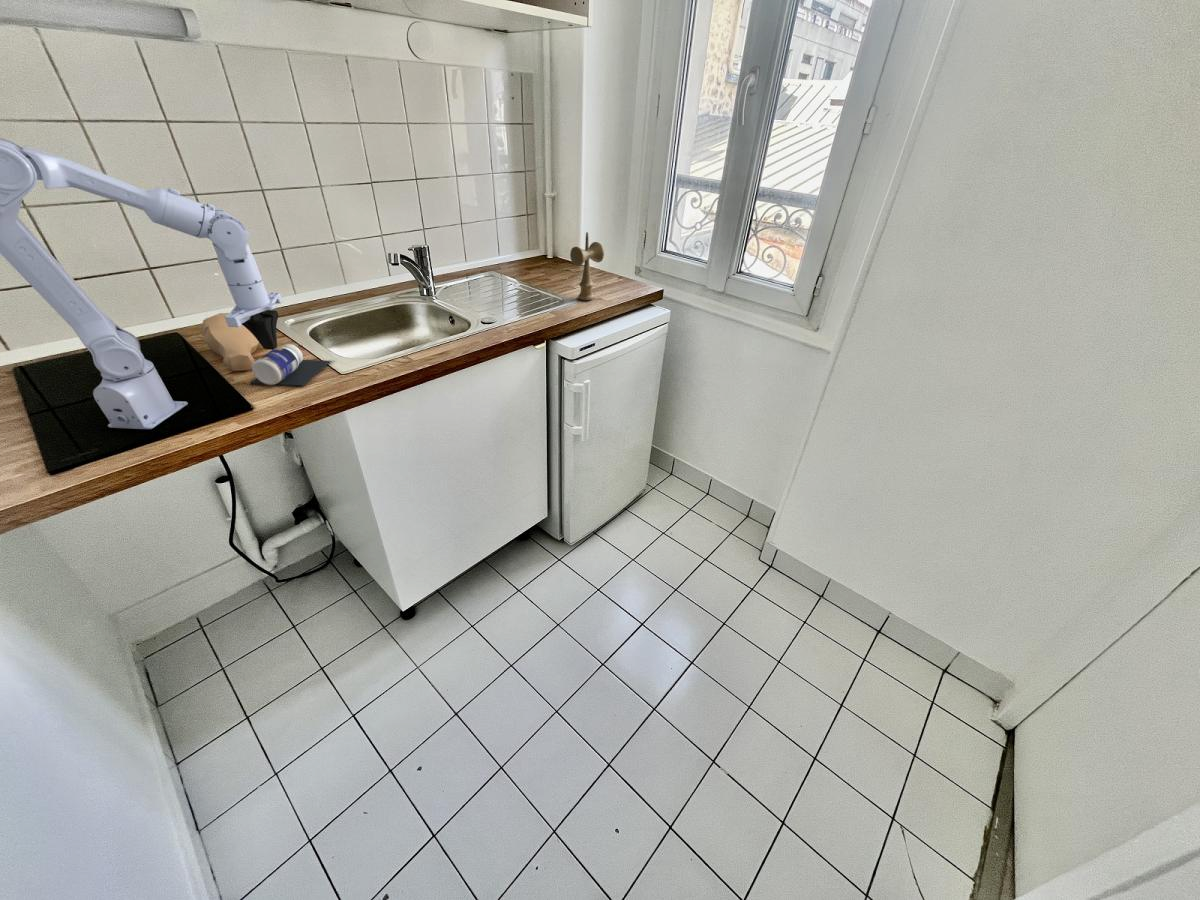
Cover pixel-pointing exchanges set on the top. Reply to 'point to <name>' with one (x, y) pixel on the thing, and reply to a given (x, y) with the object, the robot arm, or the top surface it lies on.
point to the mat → (300, 374)
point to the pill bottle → (277, 364)
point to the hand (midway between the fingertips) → (270, 348)
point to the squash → (230, 342)
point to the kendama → (586, 265)
